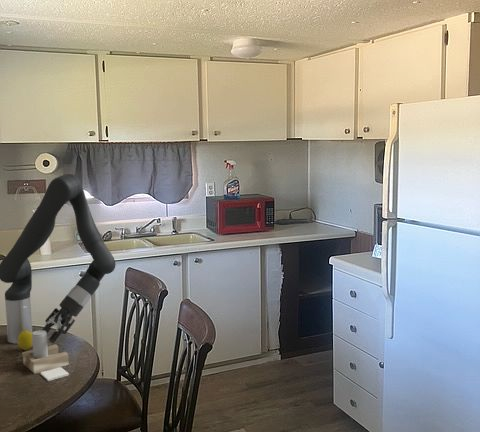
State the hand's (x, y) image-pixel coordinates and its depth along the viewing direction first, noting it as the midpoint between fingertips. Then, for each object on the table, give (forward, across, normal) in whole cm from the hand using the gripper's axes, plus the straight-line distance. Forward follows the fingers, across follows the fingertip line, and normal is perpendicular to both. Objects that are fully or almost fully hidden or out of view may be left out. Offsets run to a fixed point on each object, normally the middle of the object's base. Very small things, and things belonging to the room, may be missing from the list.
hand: (46, 338), depth 191 cm
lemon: (+8, -18, +6) cm, 20 cm away
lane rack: (+7, 0, +6) cm, 9 cm away
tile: (+8, +11, +5) cm, 14 cm away
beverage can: (+8, 0, +5) cm, 10 cm away
